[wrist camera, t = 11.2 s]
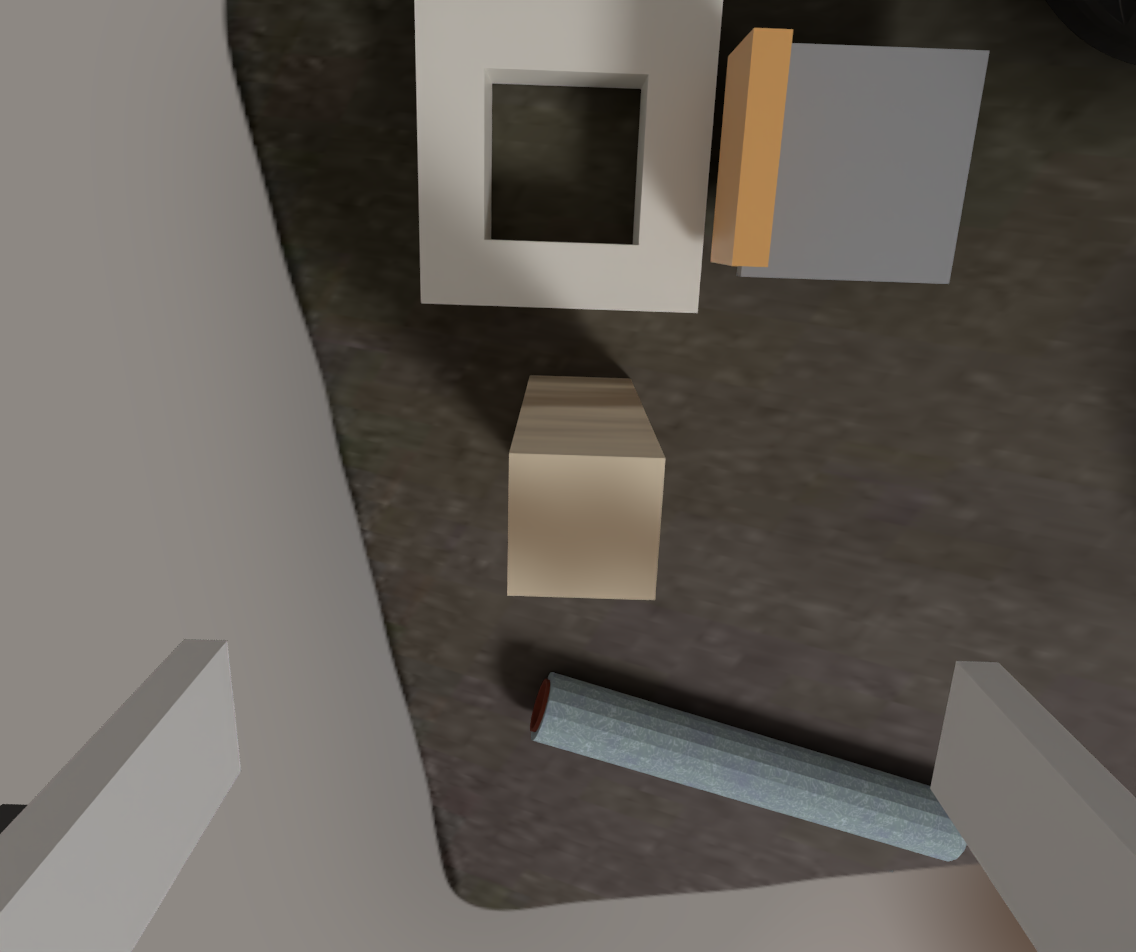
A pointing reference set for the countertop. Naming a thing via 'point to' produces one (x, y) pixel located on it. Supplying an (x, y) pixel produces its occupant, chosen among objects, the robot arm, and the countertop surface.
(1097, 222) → the countertop surface
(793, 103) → the shutter
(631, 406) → the peg
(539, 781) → the countertop surface
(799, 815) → the aluminum foil
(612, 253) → the socket
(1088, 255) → the countertop surface
